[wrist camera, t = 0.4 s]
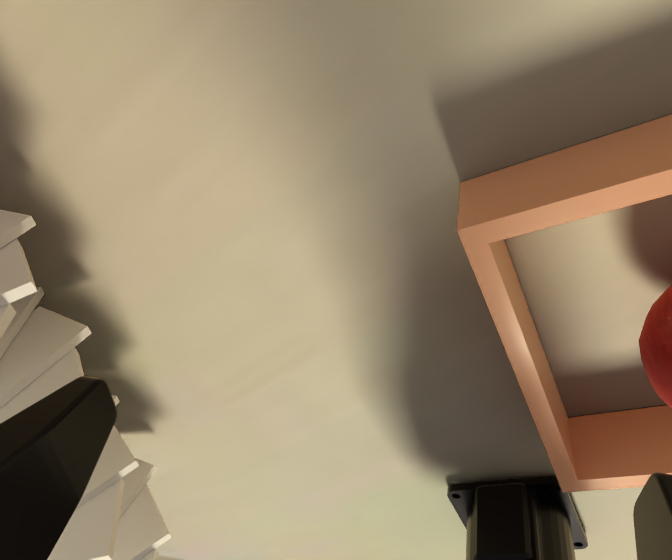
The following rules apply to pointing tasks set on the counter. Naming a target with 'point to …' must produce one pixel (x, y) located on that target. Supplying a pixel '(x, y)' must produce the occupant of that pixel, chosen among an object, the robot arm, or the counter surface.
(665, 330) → the onion
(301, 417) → the counter surface
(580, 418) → the terracotta frame
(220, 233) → the counter surface
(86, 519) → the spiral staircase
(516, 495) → the robot arm
